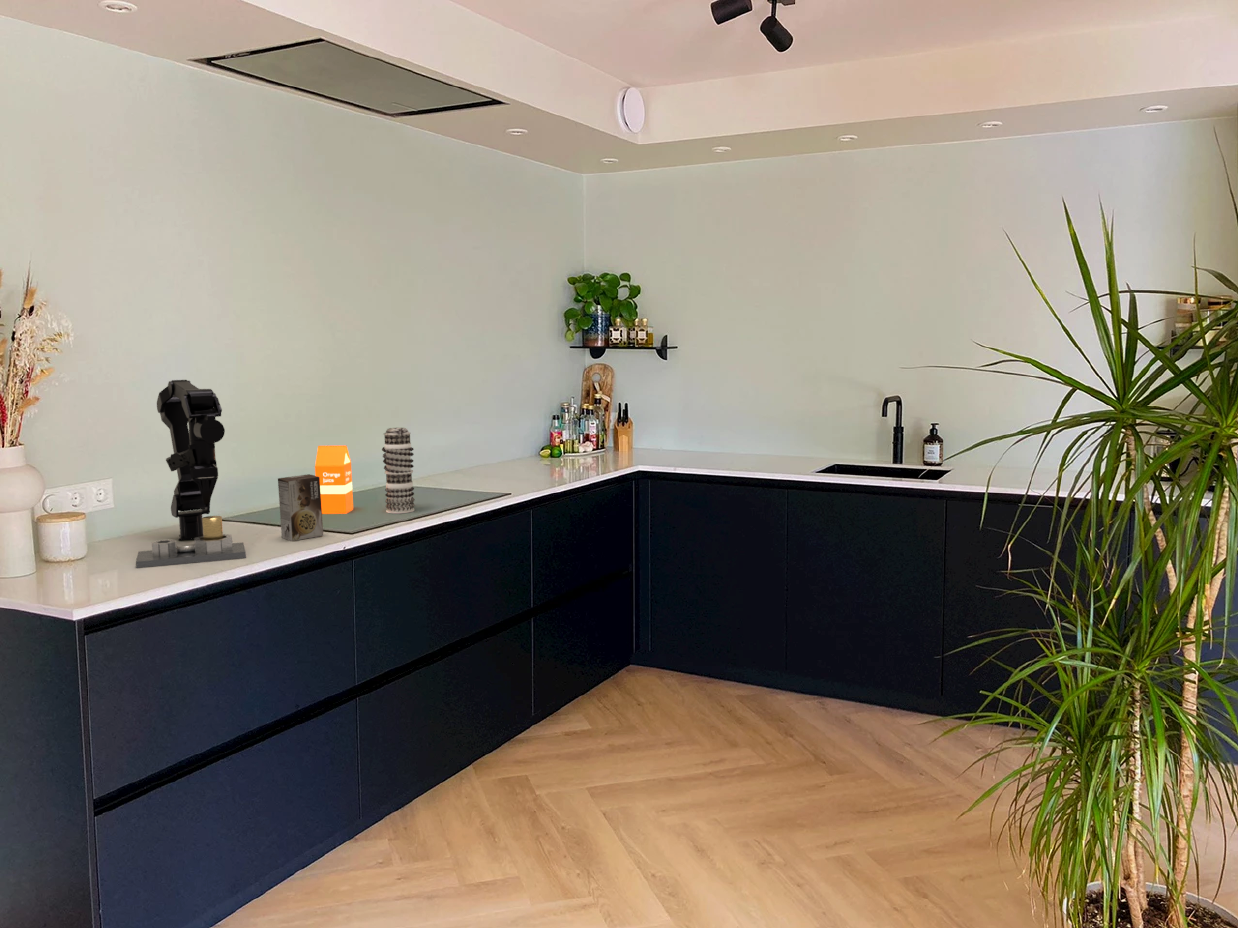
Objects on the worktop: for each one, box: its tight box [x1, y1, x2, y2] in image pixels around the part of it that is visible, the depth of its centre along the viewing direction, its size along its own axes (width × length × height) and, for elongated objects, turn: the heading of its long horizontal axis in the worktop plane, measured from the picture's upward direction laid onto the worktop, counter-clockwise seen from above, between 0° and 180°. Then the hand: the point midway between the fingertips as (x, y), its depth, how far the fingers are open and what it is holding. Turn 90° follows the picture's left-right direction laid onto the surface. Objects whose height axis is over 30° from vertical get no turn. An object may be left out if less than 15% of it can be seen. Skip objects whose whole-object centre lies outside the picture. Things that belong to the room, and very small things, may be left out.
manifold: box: [135, 533, 247, 569], centre depth 247 cm, size 12×24×4 cm, turn 113°
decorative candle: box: [381, 427, 416, 515], centre depth 305 cm, size 9×9×25 cm
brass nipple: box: [202, 515, 224, 540], centre depth 248 cm, size 4×4×8 cm
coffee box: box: [277, 473, 324, 542], centre depth 269 cm, size 9×6×16 cm
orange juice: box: [314, 445, 354, 515], centre depth 306 cm, size 8×9×20 cm
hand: (206, 501), depth 256 cm, fingers open, 9 cm apart
